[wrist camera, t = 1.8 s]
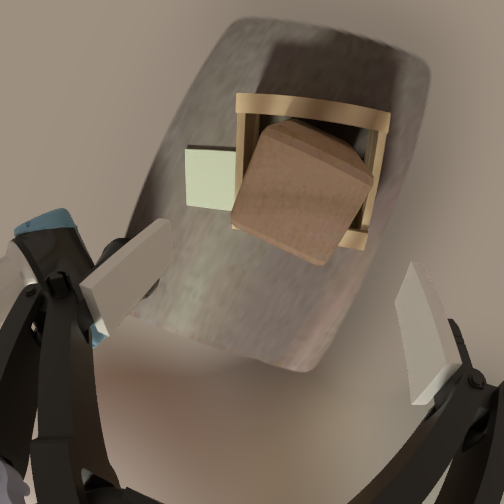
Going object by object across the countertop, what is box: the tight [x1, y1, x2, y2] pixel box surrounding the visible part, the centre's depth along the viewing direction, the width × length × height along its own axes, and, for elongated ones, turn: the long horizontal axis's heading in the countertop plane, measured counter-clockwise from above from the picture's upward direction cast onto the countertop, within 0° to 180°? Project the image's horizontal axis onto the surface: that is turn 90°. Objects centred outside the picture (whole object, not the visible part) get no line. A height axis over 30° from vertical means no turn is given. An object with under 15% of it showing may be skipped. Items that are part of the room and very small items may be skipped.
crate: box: [232, 93, 391, 251], centre depth 35 cm, size 18×18×9 cm
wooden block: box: [230, 119, 374, 266], centre depth 30 cm, size 10×10×20 cm
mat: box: [185, 149, 236, 211], centre depth 44 cm, size 10×10×1 cm
